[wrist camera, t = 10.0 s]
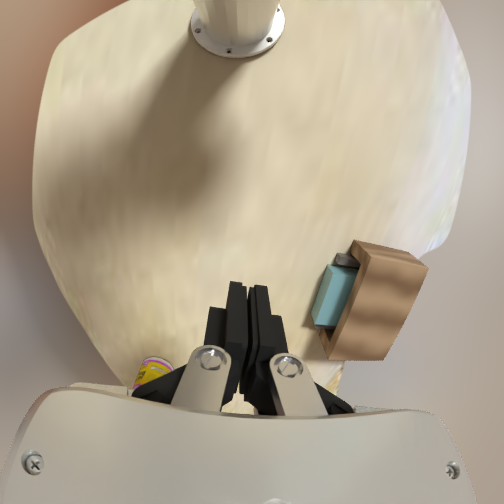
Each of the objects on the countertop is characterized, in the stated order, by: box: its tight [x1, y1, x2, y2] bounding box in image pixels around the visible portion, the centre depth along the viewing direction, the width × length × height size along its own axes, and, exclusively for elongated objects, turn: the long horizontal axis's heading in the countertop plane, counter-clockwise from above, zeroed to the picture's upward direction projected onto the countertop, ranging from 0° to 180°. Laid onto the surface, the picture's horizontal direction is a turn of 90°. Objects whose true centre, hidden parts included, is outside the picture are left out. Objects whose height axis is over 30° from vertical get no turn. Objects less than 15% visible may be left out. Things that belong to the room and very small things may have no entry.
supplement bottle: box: [133, 357, 174, 389], centre depth 42 cm, size 7×7×13 cm
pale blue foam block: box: [311, 265, 359, 326], centre depth 41 cm, size 9×12×3 cm
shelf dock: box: [313, 240, 429, 361], centre depth 40 cm, size 18×13×6 cm
